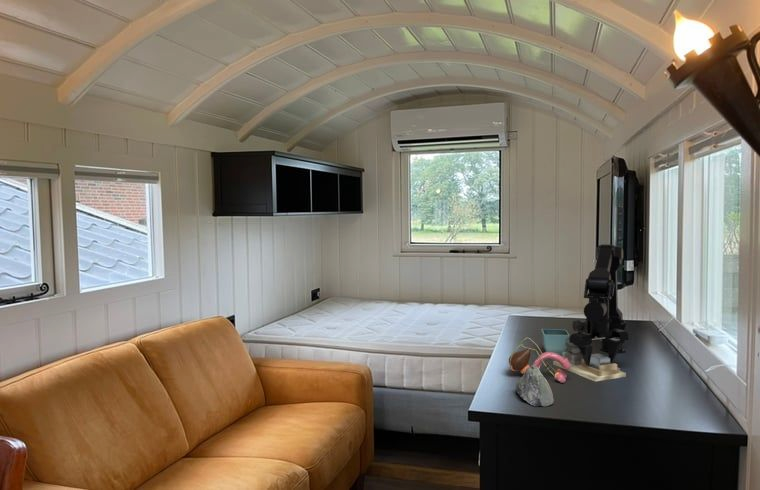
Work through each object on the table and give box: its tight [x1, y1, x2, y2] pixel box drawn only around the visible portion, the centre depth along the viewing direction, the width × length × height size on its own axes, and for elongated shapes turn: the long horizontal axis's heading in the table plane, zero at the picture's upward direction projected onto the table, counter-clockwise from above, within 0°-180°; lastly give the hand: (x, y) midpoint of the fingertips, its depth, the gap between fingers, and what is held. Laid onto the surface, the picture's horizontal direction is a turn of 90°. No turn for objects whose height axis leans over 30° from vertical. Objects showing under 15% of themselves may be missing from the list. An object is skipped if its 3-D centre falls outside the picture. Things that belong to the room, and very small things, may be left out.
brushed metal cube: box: [589, 353, 611, 370], centre depth 169 cm, size 4×5×5 cm
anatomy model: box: [508, 336, 571, 384], centre depth 167 cm, size 11×15×17 cm
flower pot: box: [541, 328, 570, 356], centre depth 191 cm, size 9×9×9 cm
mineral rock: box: [515, 364, 555, 407], centre depth 149 cm, size 13×11×10 cm
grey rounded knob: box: [565, 338, 580, 355], centre depth 180 cm, size 6×6×5 cm
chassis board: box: [552, 350, 627, 382], centre depth 174 cm, size 12×20×4 cm, turn 19°
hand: (599, 363), depth 170 cm, fingers open, 9 cm apart
